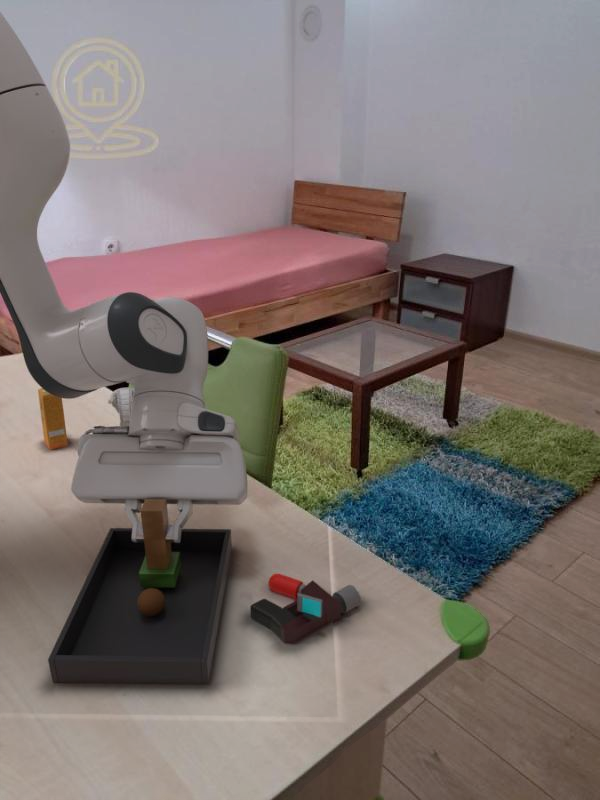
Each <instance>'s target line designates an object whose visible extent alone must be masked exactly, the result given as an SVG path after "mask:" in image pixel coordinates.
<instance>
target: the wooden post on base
mask: <svg viewBox="0 0 600 800" xmlns="http://www.w3.org/2000/svg"><path fill="white" fill-rule="evenodd" d="M140 516H141V517H140V519H141V525H142V528H143V536H144V545H145V553H146V555H145V558H144V561H143V564H142V566H141V569H140V572H139V579H140V587H166V588H175V585H176V582H177V578H178V575H179V571H180V567H181V559H180V552H171V543H167V542H166V540H165V536H166V534H167V532H166V525H170V522H169V511H168V504H167V500H166V499H145V501H144V504H142V507H141V512H140Z"/></svg>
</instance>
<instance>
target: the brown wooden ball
mask: <svg viewBox="0 0 600 800" xmlns="http://www.w3.org/2000/svg"><path fill="white" fill-rule="evenodd" d="M164 605H165V598H164V595H163V593H162V592H161V591H160V590H158V589H155V588H149V589H146V590H144V591H143V592H142V593H141V594H140V595H139V597H138V600H137V607H138V610H139V611H140V613H141V614H143V615H145V616H148V617H152V616H156V615H158V614H159V613H160V612H161V611H162V610H163V608H164Z"/></svg>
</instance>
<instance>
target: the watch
mask: <svg viewBox="0 0 600 800" xmlns="http://www.w3.org/2000/svg"><path fill="white" fill-rule="evenodd" d="M134 392H135V388H134V387H120V388H117V389H115V390H113V391H112V392H111V394H110V398H108V399H107V404H108V405H110V404H111V406H112V407H113V408H114V409H115V410H116V412H117V414H119V426H129V424H130V415H131V406H132V398H133V394H134Z"/></svg>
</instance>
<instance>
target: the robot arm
mask: <svg viewBox="0 0 600 800" xmlns="http://www.w3.org/2000/svg"><path fill="white" fill-rule="evenodd" d="M70 154H71V141H70V138H69V134H68V129H67V126H66V123H65V121H64V119H63V116H62V114H61V112H60V109H59V108H58V105H57V104H56V101H55V100H54V98H53V97H52V94H51V92H50V90H49V88H48V87H47V85H46V83H45V80H44V79H43V77H42V75H41V73H40V71H39V70H38V68H37V66H36V64H35V63H34V61H33V59H32V58H31V56H30V54H29V52H28V51H27V49H26V47H25V46H24V44H23V43H22V41H21V40H20V38H19V36H18V35H17V33H16V32H15V31H14V29H13V28H12V26H11V24H10V23H9V22H8V20H7V19H6V18H5V16H4V15H3V13H2V12H1V11H0V296H1V298H2V300H3V302H4V305H5V306H6V309H7V312H9V315H10V318H11V320H12V323H13V324H14V327H15V329H16V331H17V332H16V333H17V335H18V339H19V343H20V347H21V351H22V357H23V360H24V362H25V366H26V368H27V370H28V372H29V375H30V376H31V377H32V379H33V380H34V381H35V382H36V384H37V385H39V387H40V388H43V389H44V390H45V391H47V392H48V393H50V394H52V395H54V396H57V397H60V398H62V399H65V400H71V399H78V398H80V397H82V396H85V395H87V394H89V393H92V392H95V391H98V390H99V389H103V388H106V387H110V386H113V385H117V384H121V383H124V382H125V383H127V384H130V385H131V386H133V389H135V392H134V394H133V398H132V406H131V415H130V424H129V426H120V425H113V426H104V425H95V426H92V428H91V429H88V430H86V431H84V432H83V433H82V434H81V435H80V437H79V439H78V440H79V441H78V445H77V457H78V459H77V462H76V465H75V468H74V471H73V477H72V481H71V492H72V494H73V496H74V497H75V499H77V500H78V501H80V502H81V503H85V504H122V505H123V504H124V511H125V514H126V515H127V518H128V520H129V522H130V524H131V525H132V527H131V528H132V541H133V542H144V536H143V528H142V523H141V521H140V519H139V517H138V515H137V514H141V509H142V506H143V504H144V501H145V499H166V500H167V505H177V508H176V509H177V510H178V512H180V513H179V515H178V517H177V518H176V520H175V521H174V522H173V524H169V525H166V532H167V534H166V536H165V540H166V542H167V543H180V541H181V529H184V527H185V526H186V524H187V522H188V521H189V520H190V518H191V517H192V515H193V507H194V505H208V506H209V505H211V506H212V505H213V506H214V505H215V506H216V505H221V506H241V505H243V503H244V502H245V501H246V499H248V491H249V488H248V485H249V484H248V472H247V465H246V459H245V454H244V452H243V450H242V448H241V444H240V443H239V442H240V429H239V426H238V424H237V422H236V421H235V419H234V418H233V417H231V416H229V415H226V414H223V413H220V412H217V411H213V410H211V409H207V408H206V401H205V397H204V384H205V383H206V379H207V376H208V368H209V367H208V366H209V337H208V328H207V323H206V319H205V316H204V314H203V312H202V311H201V309H200V308H199V307H198V306H197V305H195V304H194V303H192V302H190V301H188V300H185V299H183V298H180V297H175V296H164V297H159V298H156V299H151V298H150V297H148V296H146V295H144V294H141V293H139V292H134V291H129V292H123V293H118V294H115V295H112V296H110V297H106V298H103V299H101V300H97V301H95V302H92V303H91V304H88V305H86V306H83V307H80V308H77V309H74V310H71V309H69V308H68V307H66V305H65V304H64V302H63V301H62V299H61V297H60V296H61V295H60V294H59V292H58V289H57V287H56V285H55V282H54V280H53V278H52V274H51V273H50V271H49V267H48V265H47V263H46V261H45V258H44V255H43V254H42V251H41V248H40V246H39V241H38V227H39V222H40V218H41V216H42V213H43V211H44V209H45V208H46V205H47V204H48V202H49V201H50V199H51V198H52V197H53V195H54V193H55V192H56V191H57V190H58V188H59V187H60V184H61V183H62V181H63V179H64V177H65V174H66V172H67V168H68V166H69V162H70Z"/></svg>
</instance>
